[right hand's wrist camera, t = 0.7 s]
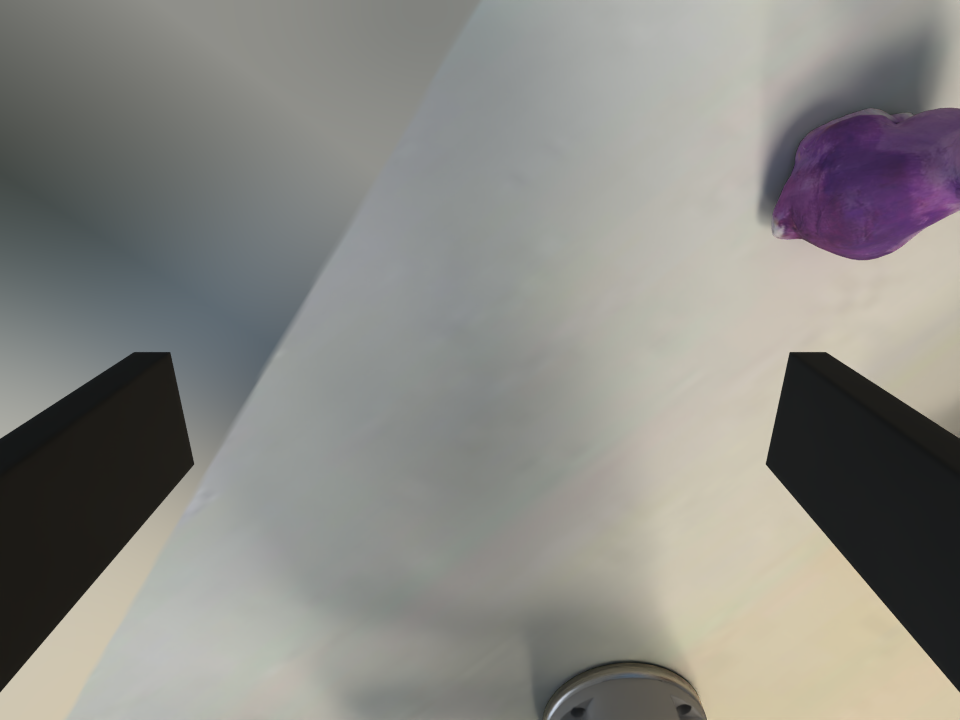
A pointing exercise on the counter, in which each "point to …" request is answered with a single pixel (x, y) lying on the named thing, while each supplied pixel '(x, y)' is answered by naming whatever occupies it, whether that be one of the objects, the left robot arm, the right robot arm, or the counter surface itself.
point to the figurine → (872, 181)
